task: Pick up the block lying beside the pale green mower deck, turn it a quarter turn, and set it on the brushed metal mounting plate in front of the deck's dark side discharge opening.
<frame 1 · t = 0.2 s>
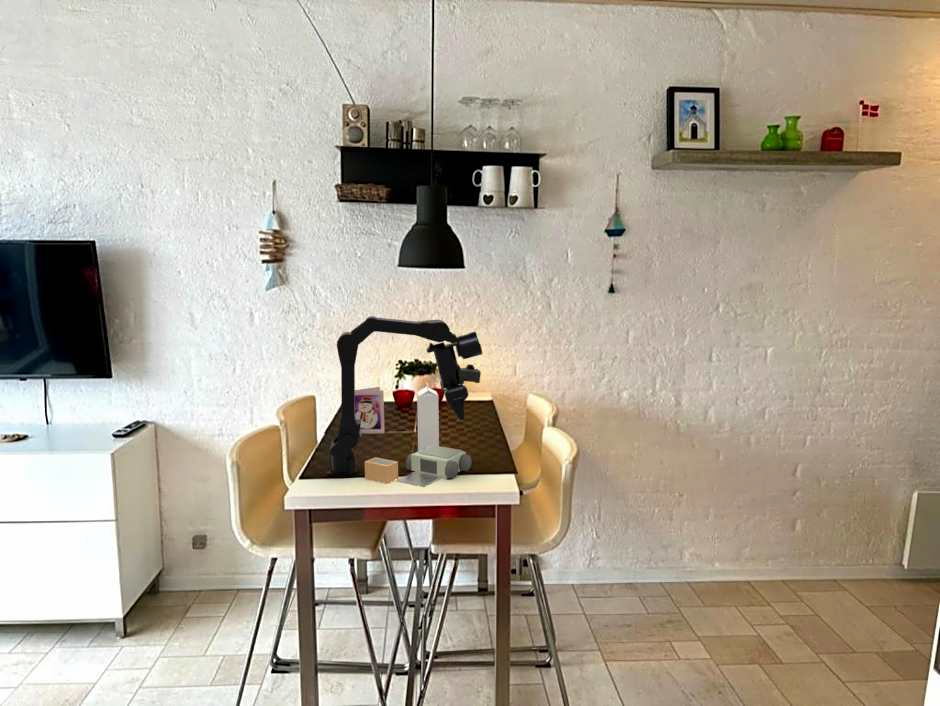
hand: (460, 415, 191), 15 cm above the table, tool pointing down, fingers open, 9 cm apart
milk: (428, 453, 208), on the table
block: (381, 479, 185), on the table
mounting plate: (419, 479, 184), on the table
mower deck: (438, 470, 191), on the table
greeting card: (369, 431, 234), on the table
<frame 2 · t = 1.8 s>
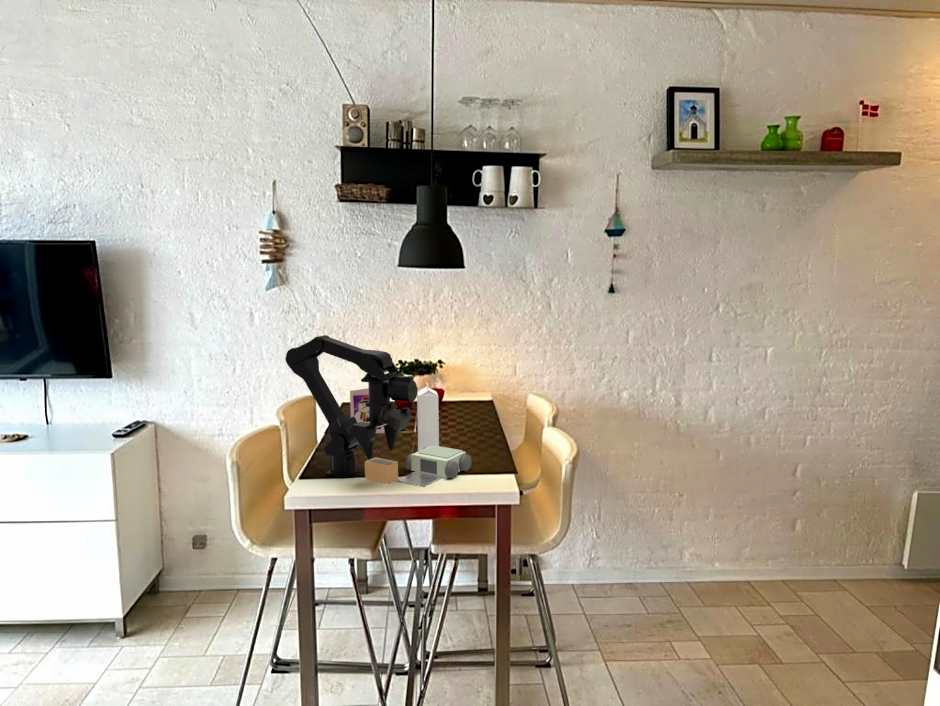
hand: (380, 454, 184), 7 cm above the table, tool pointing down, fingers open, 9 cm apart
nothing on the table moved.
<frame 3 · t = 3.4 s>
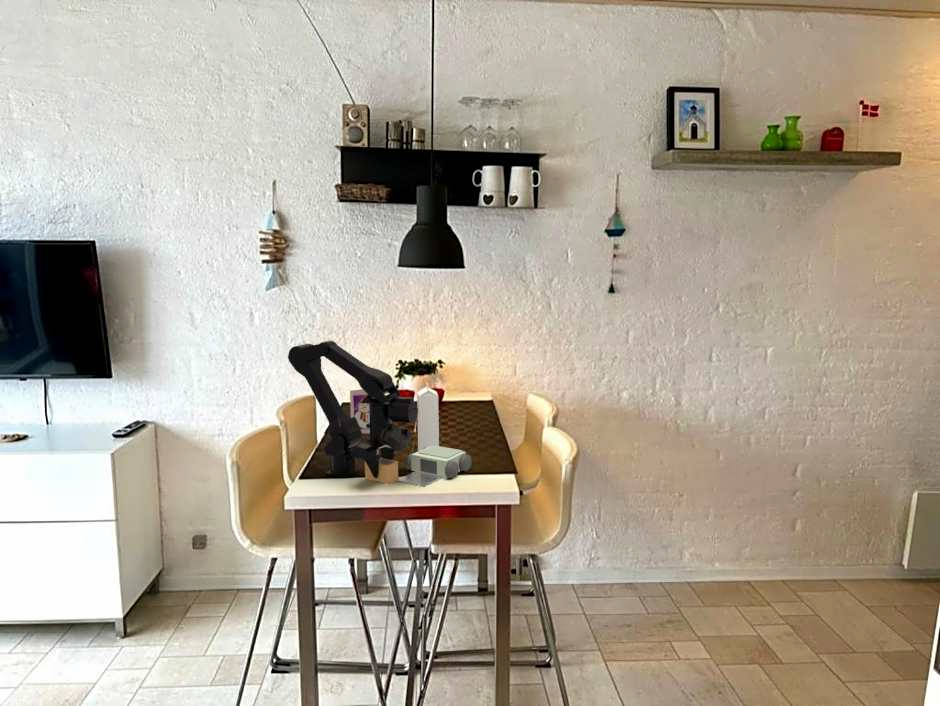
hand: (381, 475, 184), 1 cm above the table, tool pointing down, fingers closed on block, 5 cm apart
block: (381, 478, 184), on the table, touching gripper
everything else where it was.
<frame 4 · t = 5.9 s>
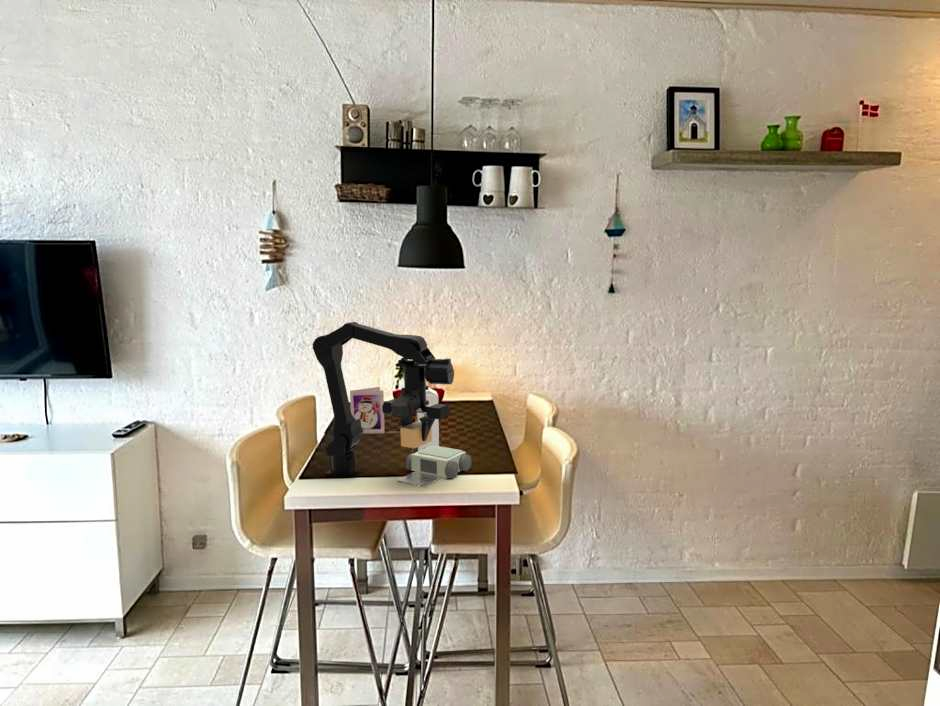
hand: (416, 439, 182), 11 cm above the table, tool pointing down, fingers closed on block, 5 cm apart
block: (416, 443, 182), point 10 cm above the table, touching gripper
everything else where it was.
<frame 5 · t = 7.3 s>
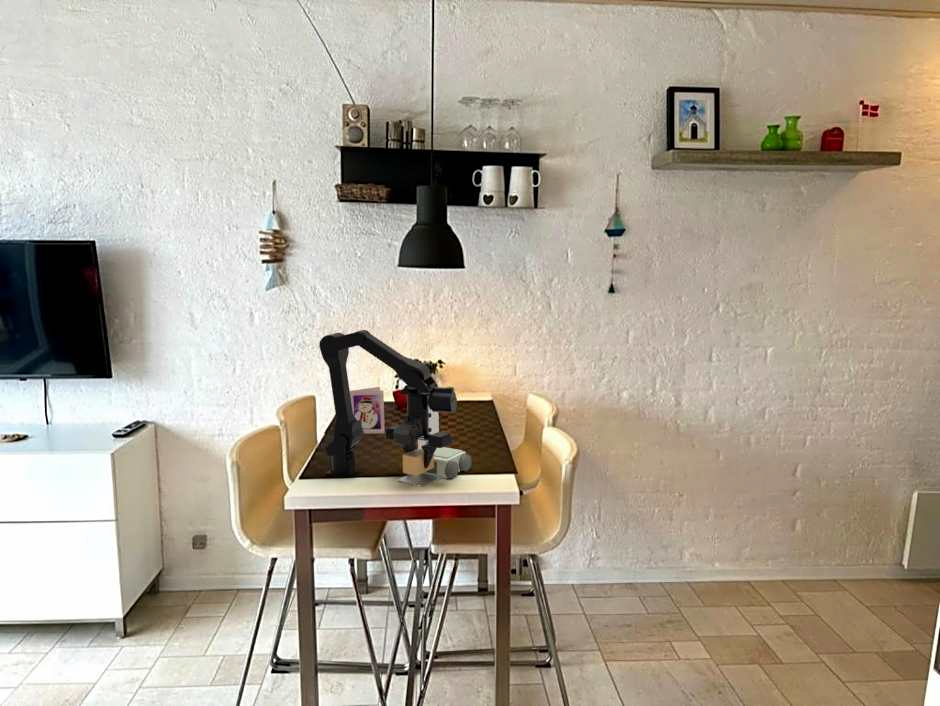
hand: (418, 466, 183), 4 cm above the table, tool pointing down, fingers closed on block, 5 cm apart
block: (418, 470, 183), point 3 cm above the table, touching gripper
everything else where it was.
when the fingers open (3 cm above the table, at t = 8.3 s): block drops 1 cm, resting on mounting plate.
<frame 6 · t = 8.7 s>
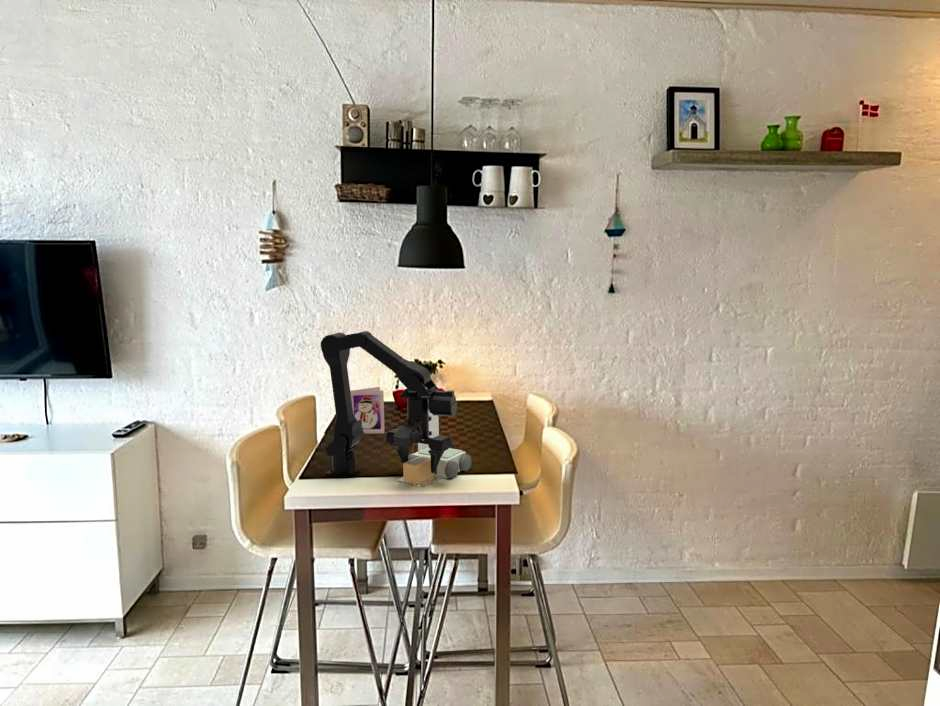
hand: (419, 469, 183), 3 cm above the table, tool pointing down, fingers open, 9 cm apart
block: (419, 478, 183), resting on mounting plate
everything else where it was.
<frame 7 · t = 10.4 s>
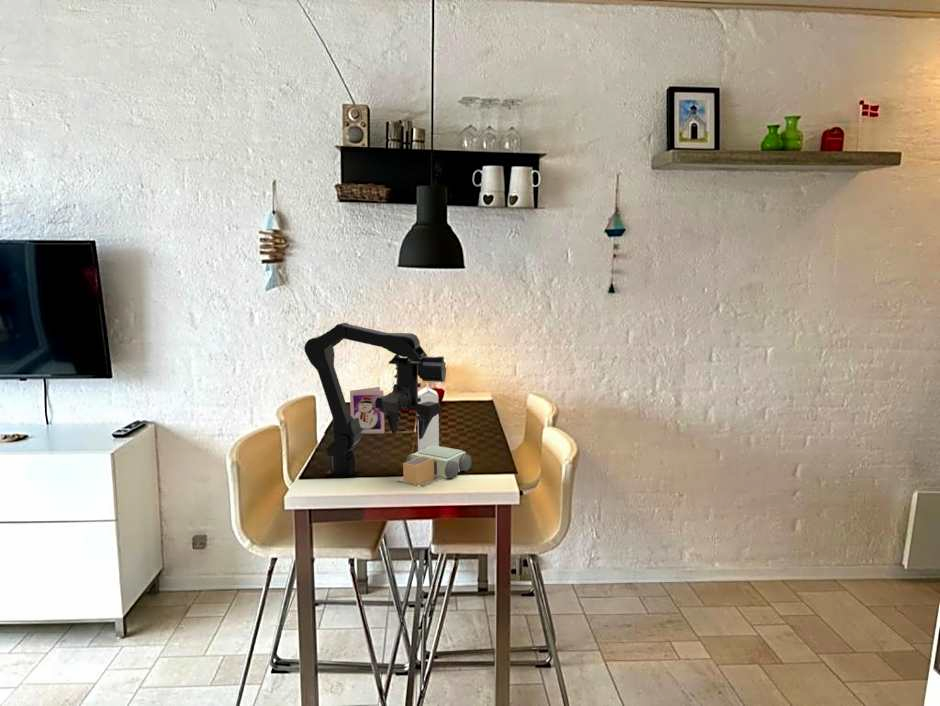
hand: (407, 436, 184), 12 cm above the table, tool pointing down, fingers open, 9 cm apart
nothing on the table moved.
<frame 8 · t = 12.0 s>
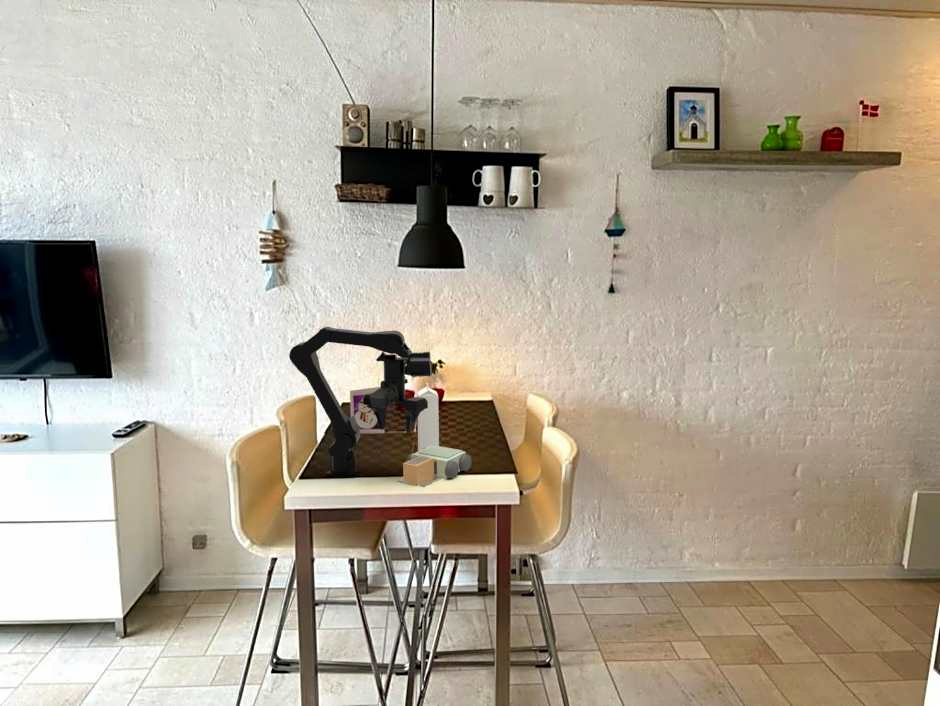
hand: (395, 431, 187), 12 cm above the table, tool pointing down, fingers open, 9 cm apart
nothing on the table moved.
at the end: block 0.2 cm from the target spot on the table beside the mower deck, resting on mounting plate; block tilted 0°; block touching mounting plate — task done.
